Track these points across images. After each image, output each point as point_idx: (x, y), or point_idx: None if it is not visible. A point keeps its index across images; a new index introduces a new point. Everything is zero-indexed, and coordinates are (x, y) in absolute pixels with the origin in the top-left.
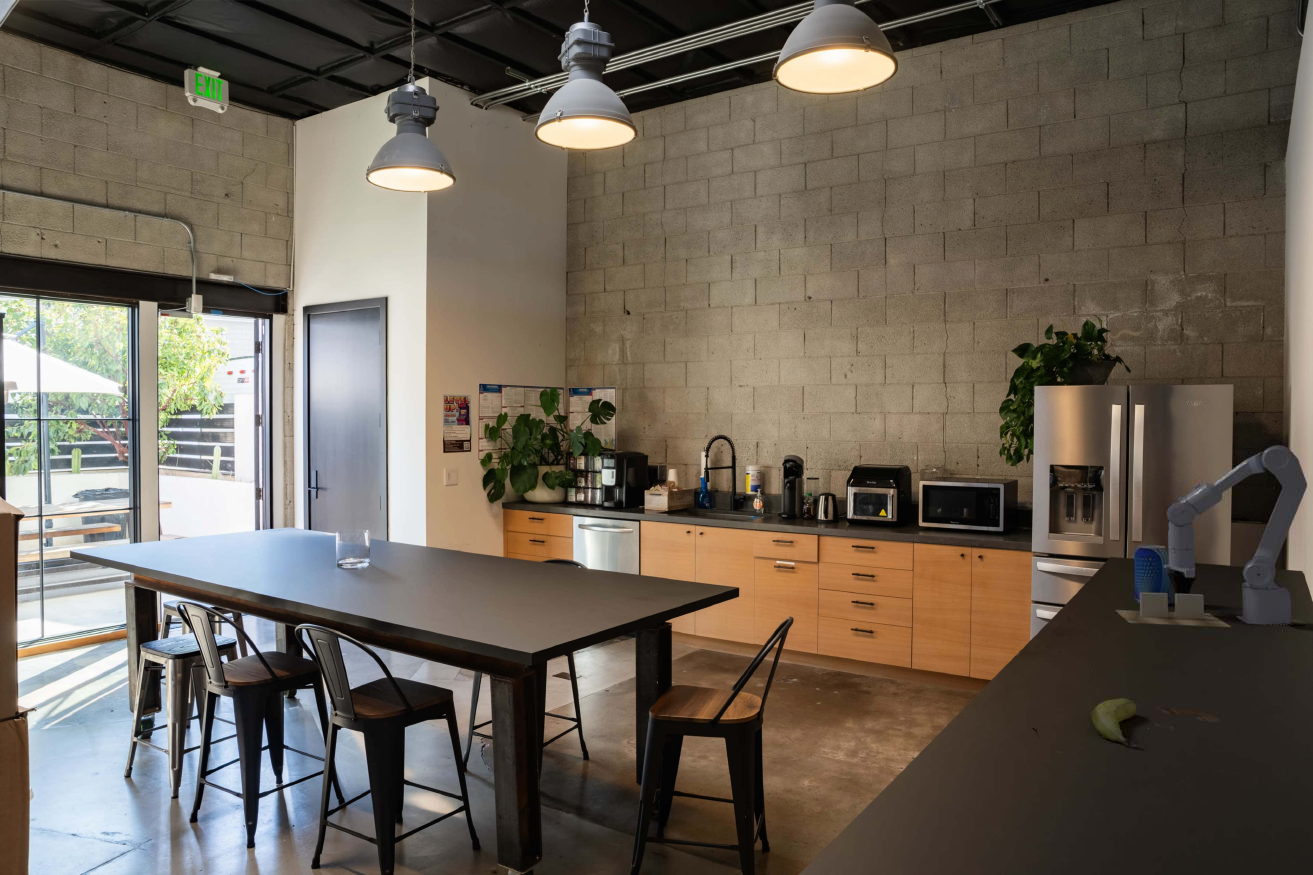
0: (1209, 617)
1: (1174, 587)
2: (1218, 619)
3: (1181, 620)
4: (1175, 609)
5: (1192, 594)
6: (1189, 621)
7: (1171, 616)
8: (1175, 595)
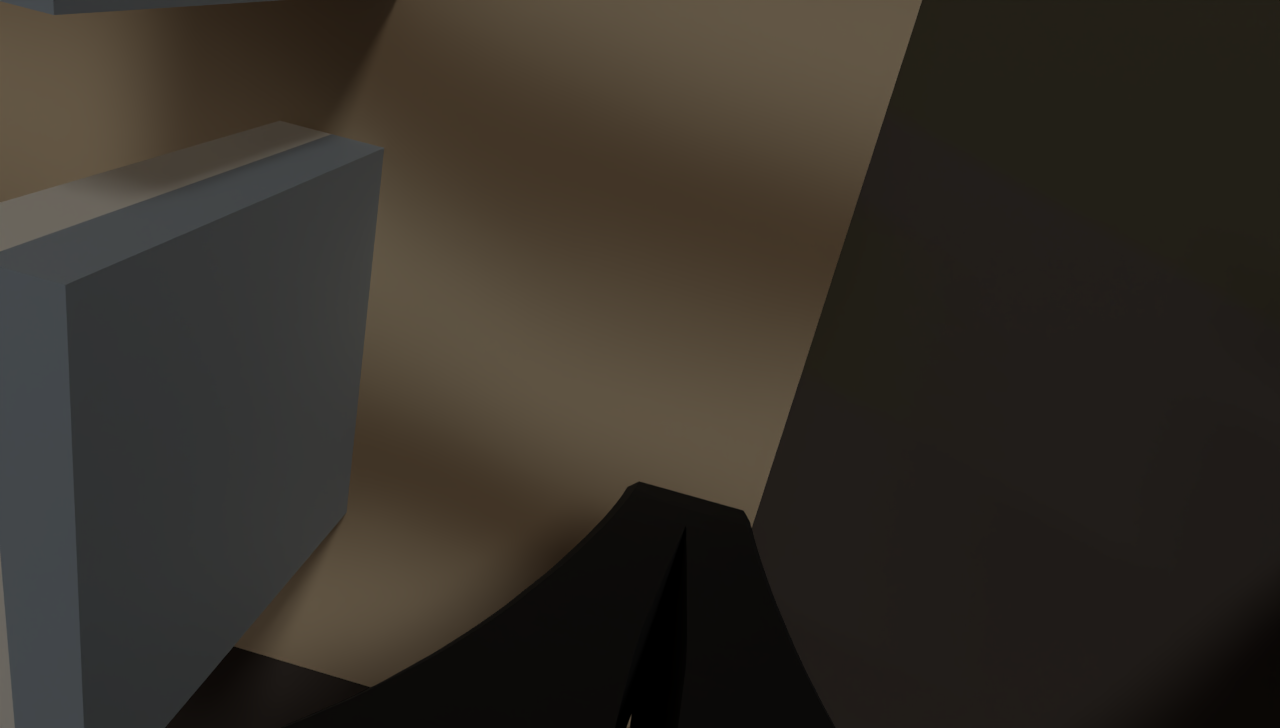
0: (392, 622)
1: (691, 666)
2: (272, 648)
3: (88, 90)
4: (279, 167)
5: (5, 630)
6: (42, 182)
7: (418, 100)
8: (29, 246)
